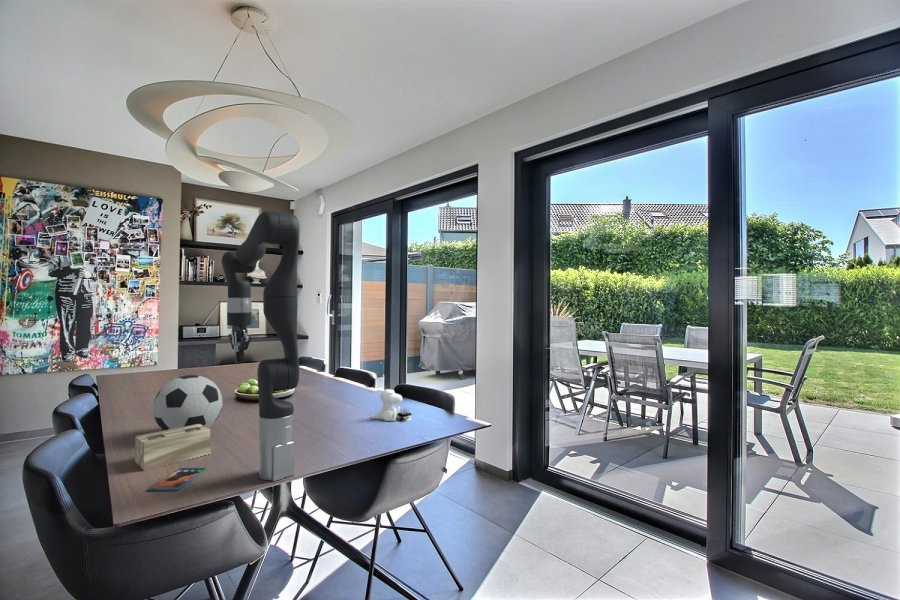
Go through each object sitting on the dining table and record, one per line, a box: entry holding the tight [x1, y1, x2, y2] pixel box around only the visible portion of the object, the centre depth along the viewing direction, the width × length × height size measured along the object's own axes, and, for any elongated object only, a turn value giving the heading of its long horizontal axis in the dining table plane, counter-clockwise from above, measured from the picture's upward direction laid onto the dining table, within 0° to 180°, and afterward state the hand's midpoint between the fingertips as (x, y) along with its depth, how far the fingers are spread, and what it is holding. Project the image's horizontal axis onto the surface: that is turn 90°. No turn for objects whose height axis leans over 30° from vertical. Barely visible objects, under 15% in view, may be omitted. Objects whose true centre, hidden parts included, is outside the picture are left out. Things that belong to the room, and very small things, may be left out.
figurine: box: [369, 388, 412, 422], centre depth 182 cm, size 8×18×12 cm, turn 82°
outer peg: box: [148, 435, 162, 440], centre depth 134 cm, size 4×4×7 cm
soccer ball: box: [152, 374, 223, 431], centre depth 160 cm, size 22×22×22 cm
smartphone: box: [147, 467, 208, 492], centre depth 122 cm, size 8×1×15 cm
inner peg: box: [185, 428, 198, 432], centre depth 141 cm, size 4×4×7 cm
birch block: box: [134, 424, 211, 472], centre depth 137 cm, size 10×18×8 cm, turn 138°
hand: (239, 362), depth 146 cm, fingers closed
